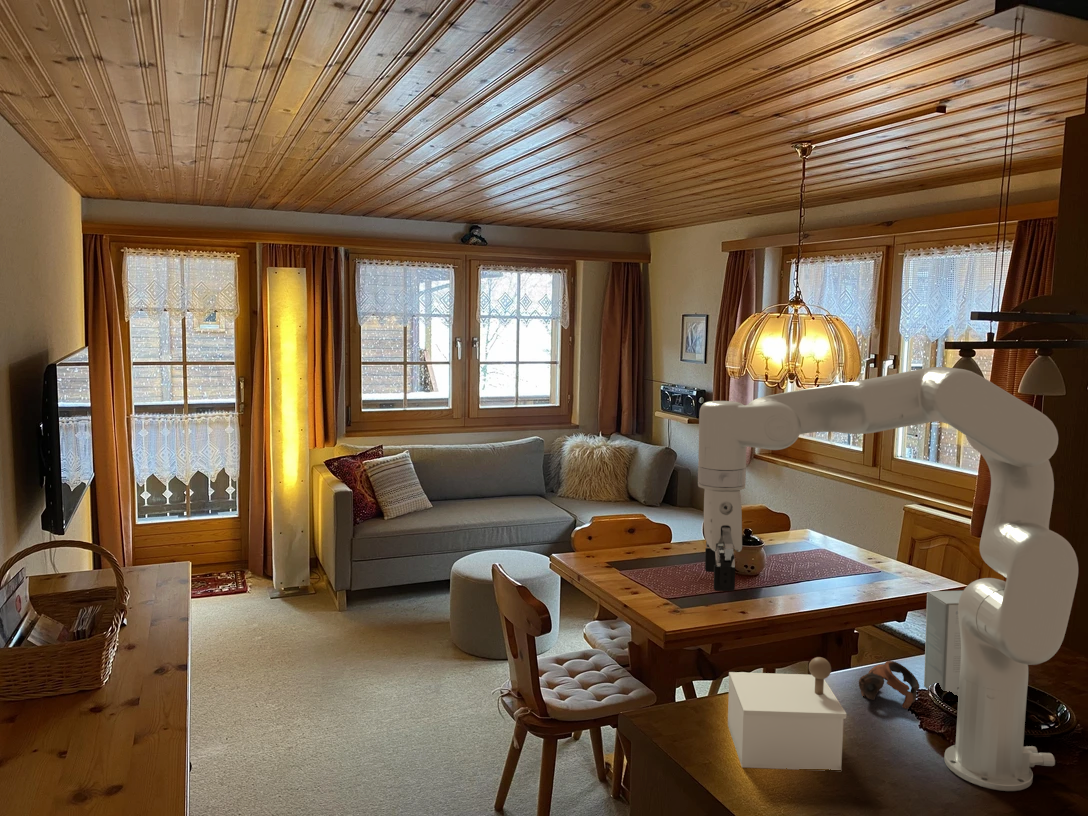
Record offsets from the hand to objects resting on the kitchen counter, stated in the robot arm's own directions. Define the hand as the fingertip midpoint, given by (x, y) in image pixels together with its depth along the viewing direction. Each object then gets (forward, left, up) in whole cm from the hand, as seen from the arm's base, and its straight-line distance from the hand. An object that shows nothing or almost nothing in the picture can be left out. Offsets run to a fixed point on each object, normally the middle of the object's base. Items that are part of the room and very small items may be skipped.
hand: (719, 580), depth 129 cm
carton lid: (-12, -5, -22) cm, 25 cm away
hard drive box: (-54, -28, -31) cm, 68 cm away
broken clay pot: (-36, -24, -31) cm, 53 cm away
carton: (-12, -5, -31) cm, 33 cm away
